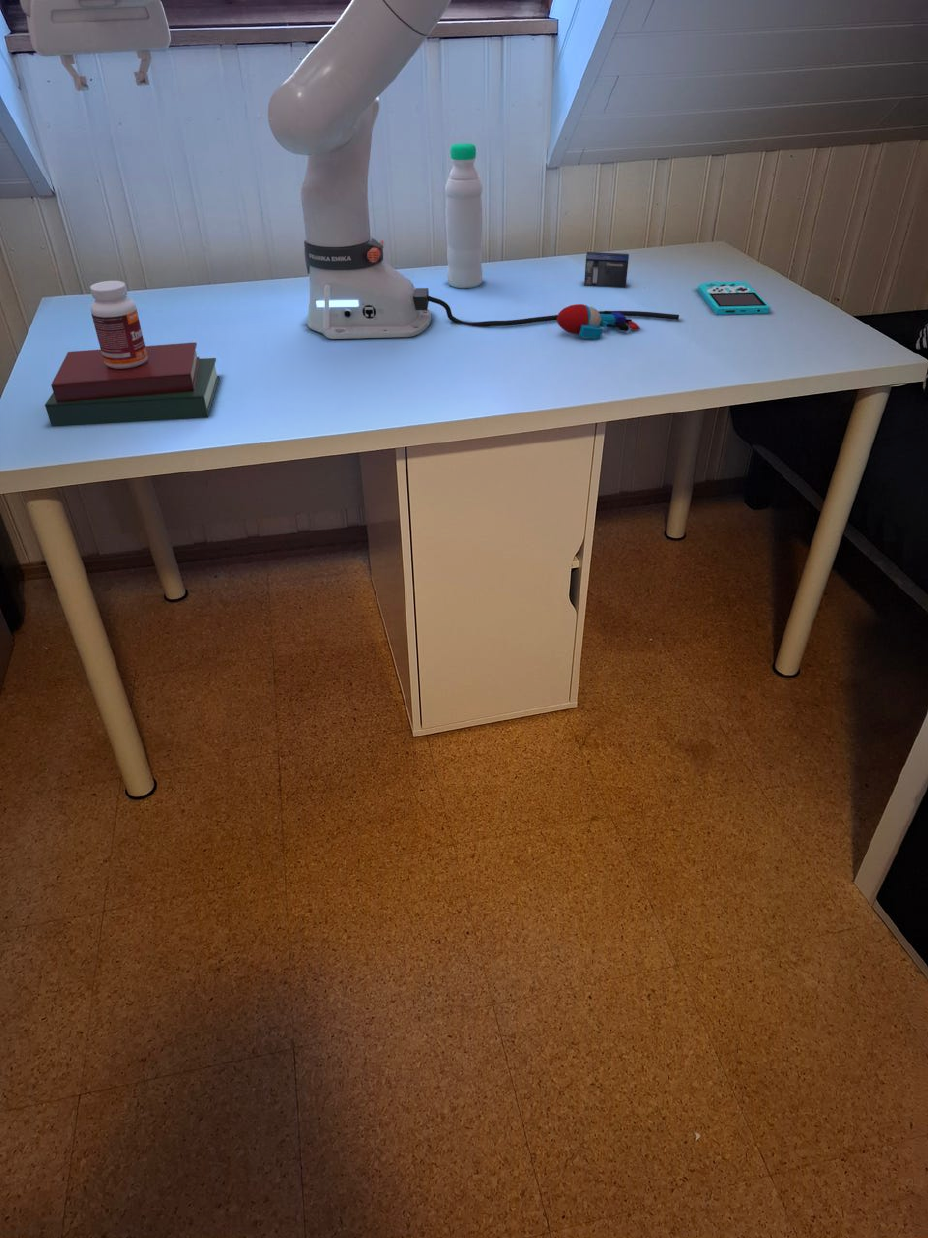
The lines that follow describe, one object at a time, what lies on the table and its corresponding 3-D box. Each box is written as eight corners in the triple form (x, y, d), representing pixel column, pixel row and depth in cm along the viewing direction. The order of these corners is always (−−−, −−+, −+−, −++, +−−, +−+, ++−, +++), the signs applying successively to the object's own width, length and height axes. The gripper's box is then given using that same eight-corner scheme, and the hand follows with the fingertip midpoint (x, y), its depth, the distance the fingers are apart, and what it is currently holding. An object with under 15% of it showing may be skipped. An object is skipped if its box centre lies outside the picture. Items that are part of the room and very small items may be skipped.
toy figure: (618, 327, 158) (545, 324, 152) (626, 300, 155) (552, 296, 149) (639, 344, 152) (564, 341, 147) (647, 316, 149) (571, 312, 144)
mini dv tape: (584, 285, 173) (586, 253, 169) (584, 283, 174) (587, 251, 170) (625, 287, 171) (628, 255, 168) (626, 285, 173) (629, 253, 169)
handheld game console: (745, 286, 171) (747, 279, 170) (771, 313, 158) (772, 306, 157) (695, 288, 170) (696, 280, 170) (716, 314, 158) (717, 307, 157)
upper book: (199, 358, 135) (196, 342, 134) (194, 391, 125) (190, 373, 123) (72, 368, 133) (67, 351, 131) (56, 402, 123) (51, 384, 121)
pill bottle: (147, 367, 125) (128, 290, 119) (103, 372, 124) (81, 293, 118) (150, 352, 130) (132, 277, 124) (107, 356, 129) (86, 280, 123)
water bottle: (483, 278, 177) (483, 140, 162) (480, 289, 172) (480, 147, 157) (449, 278, 178) (446, 140, 163) (445, 288, 172) (441, 147, 157)
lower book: (219, 377, 137) (215, 357, 135) (207, 416, 126) (203, 395, 124) (77, 385, 136) (71, 365, 134) (51, 425, 124) (44, 404, 122)
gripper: (19, -22, 119) (50, 95, 128) (163, -25, 129) (183, 83, 137) (8, -22, 123) (38, 91, 132) (148, -26, 133) (168, 80, 141)
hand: (113, 87), depth 134 cm, fingers open, 8 cm apart
